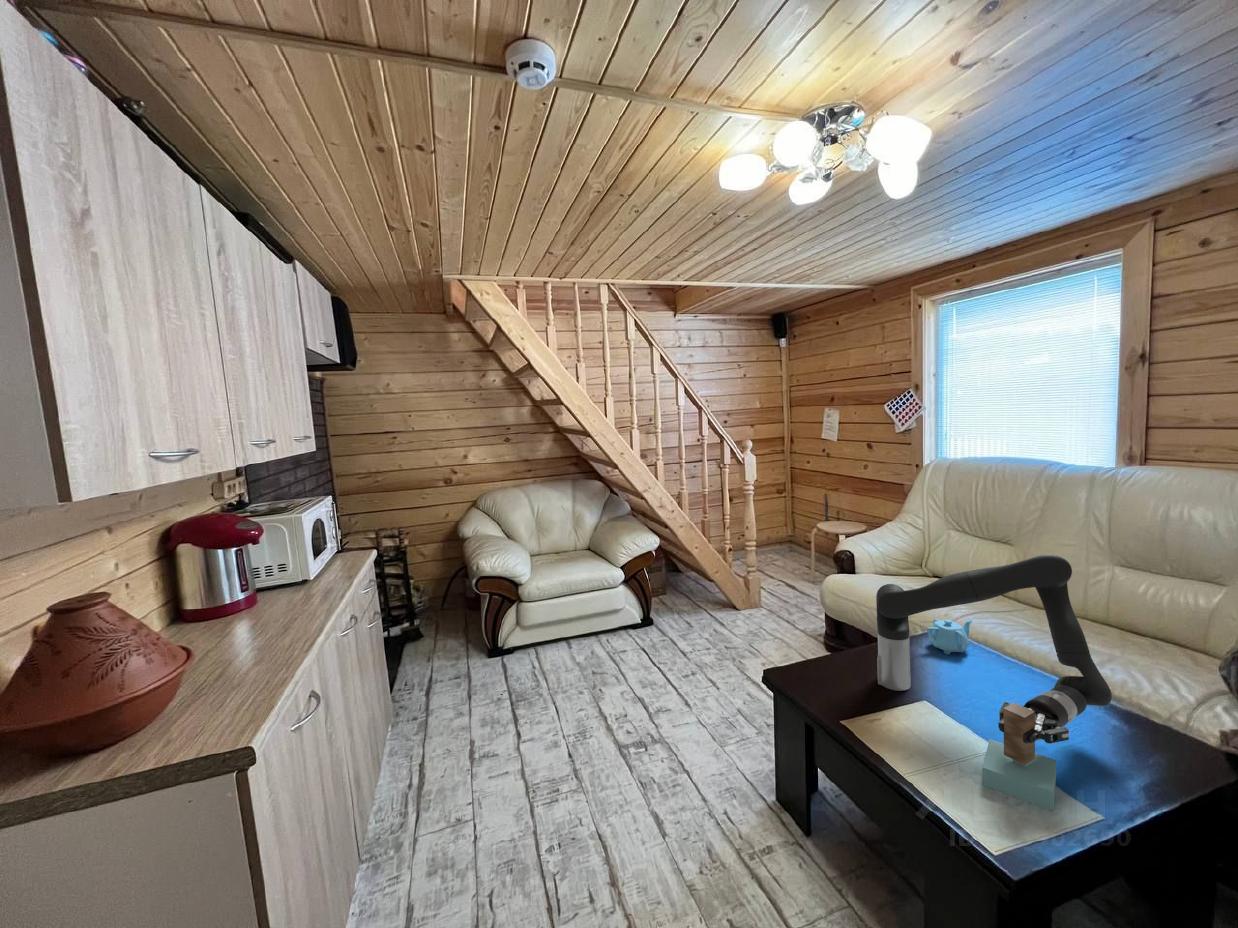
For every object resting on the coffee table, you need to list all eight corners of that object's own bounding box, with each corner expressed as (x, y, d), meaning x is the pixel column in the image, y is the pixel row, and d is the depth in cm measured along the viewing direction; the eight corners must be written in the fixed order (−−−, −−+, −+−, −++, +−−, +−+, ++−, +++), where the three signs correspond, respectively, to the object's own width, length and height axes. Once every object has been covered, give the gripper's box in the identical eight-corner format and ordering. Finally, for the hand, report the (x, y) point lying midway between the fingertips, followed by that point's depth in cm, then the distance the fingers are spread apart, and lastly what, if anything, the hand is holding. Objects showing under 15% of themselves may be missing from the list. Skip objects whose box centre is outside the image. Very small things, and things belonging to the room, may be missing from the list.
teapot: (924, 651, 185) (923, 623, 184) (934, 635, 195) (934, 609, 194) (965, 661, 176) (964, 632, 175) (973, 644, 186) (973, 616, 185)
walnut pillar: (1003, 754, 121) (1003, 708, 120) (1014, 748, 123) (1013, 702, 121) (1024, 765, 117) (1024, 717, 116) (1035, 758, 119) (1034, 711, 117)
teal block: (982, 786, 120) (982, 767, 119) (989, 756, 129) (989, 738, 129) (1053, 812, 111) (1053, 792, 111) (1056, 779, 120) (1056, 759, 120)
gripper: (1018, 683, 131) (979, 703, 124) (1087, 710, 118) (1049, 734, 111) (1018, 710, 132) (980, 731, 125) (1087, 739, 119) (1048, 766, 112)
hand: (1012, 733), depth 118 cm, fingers closed on walnut pillar, 4 cm apart
